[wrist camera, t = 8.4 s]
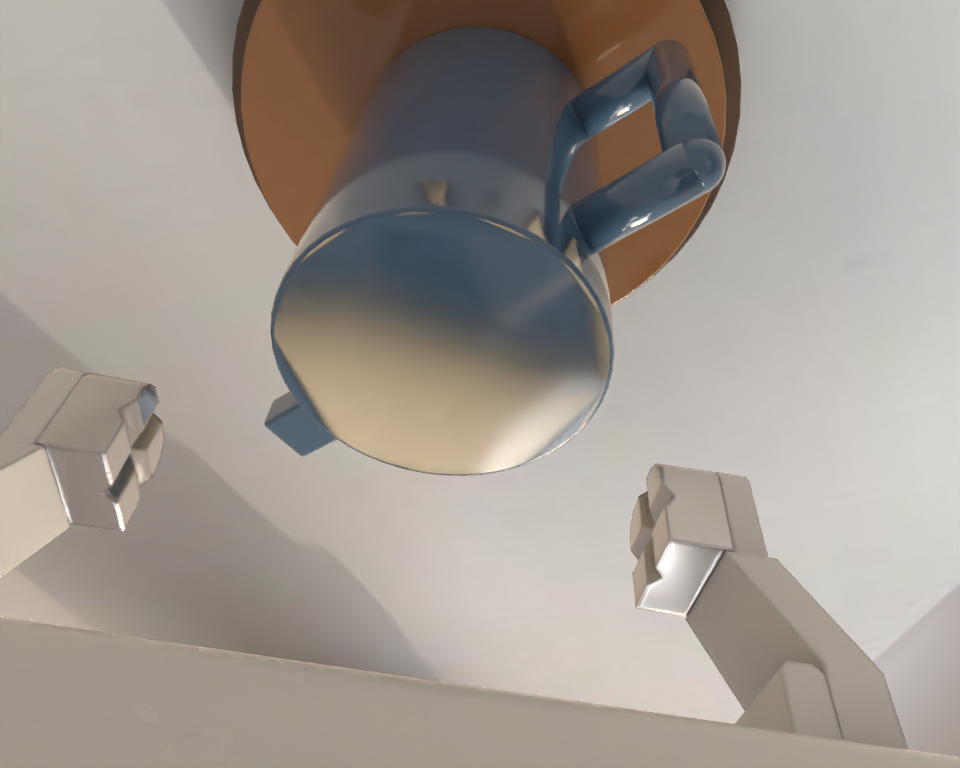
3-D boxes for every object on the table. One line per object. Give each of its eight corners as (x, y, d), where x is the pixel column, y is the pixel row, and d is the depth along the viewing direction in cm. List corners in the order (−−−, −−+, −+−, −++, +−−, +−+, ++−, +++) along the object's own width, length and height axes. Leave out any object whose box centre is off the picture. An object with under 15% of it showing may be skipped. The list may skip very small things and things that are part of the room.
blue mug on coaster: (441, 381, 28) (399, 623, 21) (149, 79, 22) (-60, 277, 14) (801, 196, 22) (915, 440, 15) (550, -292, 16) (539, -271, 9)
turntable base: (839, 87, 22) (853, 108, 21) (513, 370, 30) (511, 397, 29) (436, -340, 17) (427, -342, 16) (169, 137, 25) (150, 159, 23)
